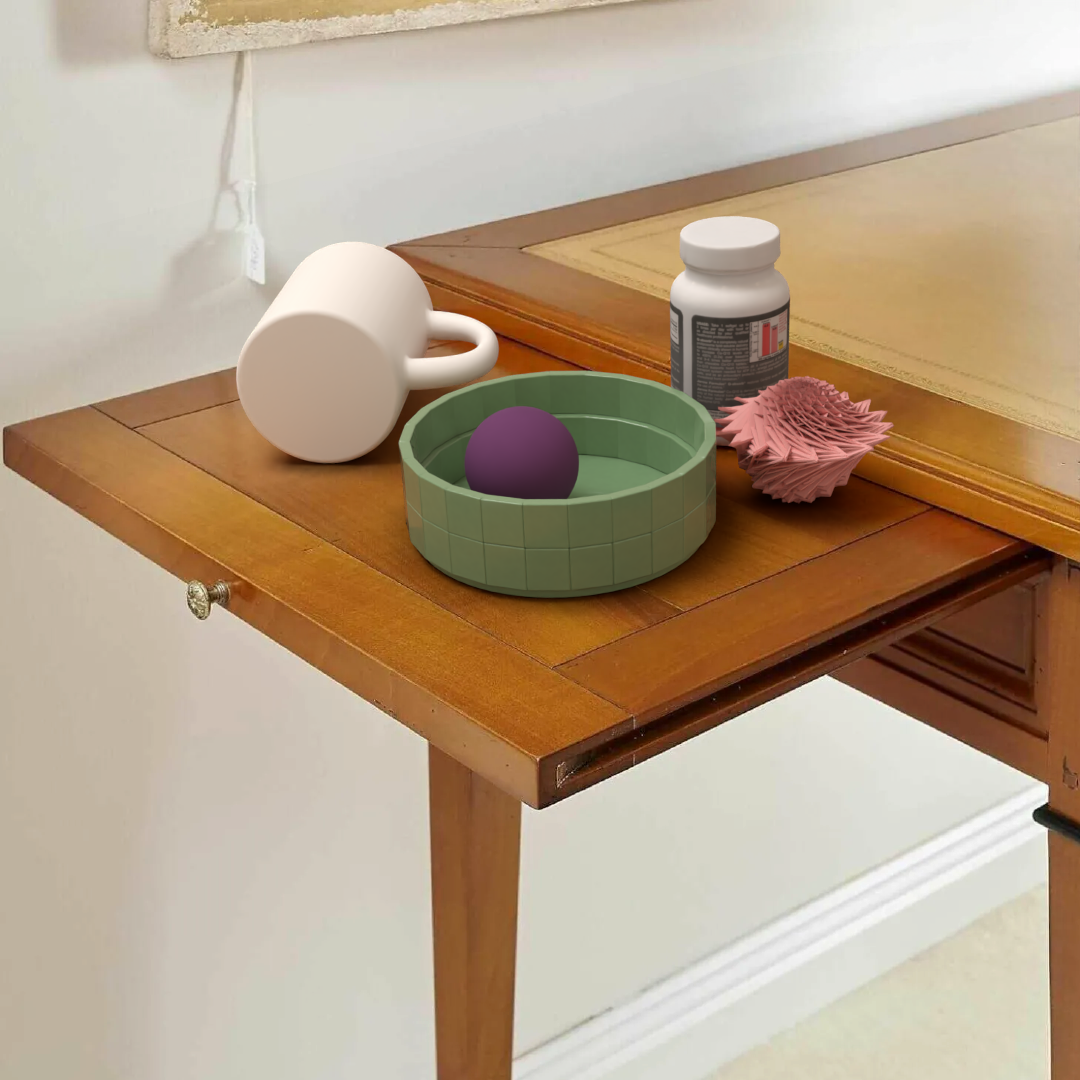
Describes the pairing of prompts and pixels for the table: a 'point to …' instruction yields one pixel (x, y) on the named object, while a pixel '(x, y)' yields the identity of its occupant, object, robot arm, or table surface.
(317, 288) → the mug
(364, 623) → the table surface
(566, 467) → the ball
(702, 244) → the pill bottle
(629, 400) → the bowl
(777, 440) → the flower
